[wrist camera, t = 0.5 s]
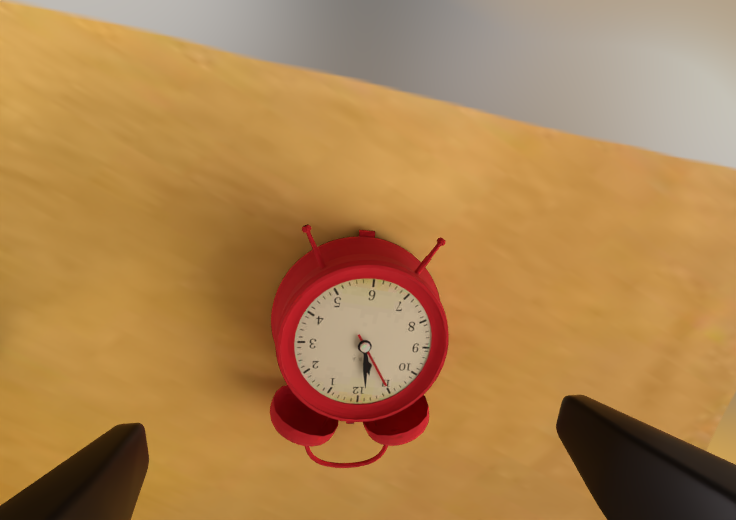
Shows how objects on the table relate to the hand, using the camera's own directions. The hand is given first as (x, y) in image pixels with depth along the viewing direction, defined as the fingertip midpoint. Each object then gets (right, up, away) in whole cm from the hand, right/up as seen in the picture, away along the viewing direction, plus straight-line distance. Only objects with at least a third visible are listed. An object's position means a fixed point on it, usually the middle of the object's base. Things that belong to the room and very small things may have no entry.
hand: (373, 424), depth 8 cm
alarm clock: (-1, -2, +15) cm, 16 cm away
